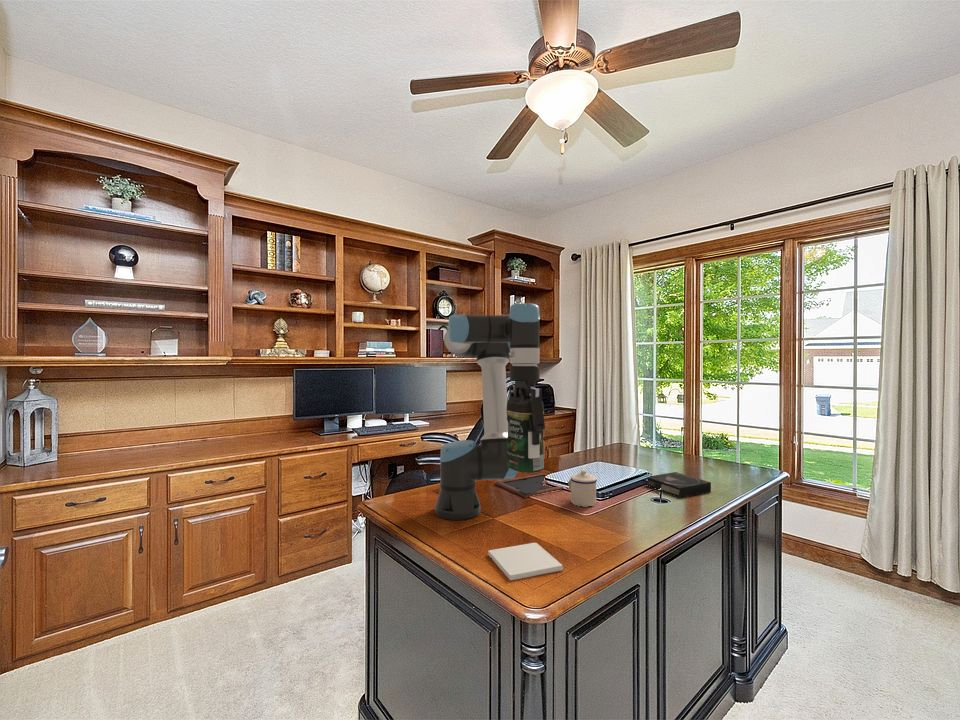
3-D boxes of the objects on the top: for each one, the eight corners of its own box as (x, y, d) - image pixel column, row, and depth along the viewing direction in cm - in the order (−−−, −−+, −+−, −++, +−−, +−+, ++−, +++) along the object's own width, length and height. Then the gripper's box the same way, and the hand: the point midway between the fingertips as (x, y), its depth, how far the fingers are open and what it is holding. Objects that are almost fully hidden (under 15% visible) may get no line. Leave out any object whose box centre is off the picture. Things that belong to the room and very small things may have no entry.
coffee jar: (501, 467, 114) (501, 395, 114) (525, 463, 119) (525, 394, 118) (524, 476, 106) (524, 398, 106) (549, 471, 110) (549, 397, 110)
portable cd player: (644, 486, 177) (644, 476, 177) (675, 481, 184) (675, 472, 184) (678, 499, 162) (678, 488, 162) (710, 492, 169) (710, 482, 169)
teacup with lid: (602, 504, 155) (602, 471, 155) (583, 509, 150) (583, 475, 150) (578, 495, 165) (578, 464, 165) (559, 499, 161) (559, 467, 161)
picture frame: (525, 499, 162) (576, 488, 175) (525, 494, 162) (576, 483, 175) (495, 485, 179) (543, 476, 192) (495, 481, 179) (543, 472, 192)
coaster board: (488, 555, 117) (488, 550, 117) (535, 546, 121) (535, 542, 121) (510, 580, 103) (510, 575, 103) (562, 570, 108) (562, 565, 108)
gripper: (494, 364, 121) (494, 446, 121) (531, 366, 100) (531, 464, 101) (519, 364, 124) (519, 444, 124) (560, 365, 103) (560, 461, 103)
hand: (524, 453), depth 112 cm, fingers closed on coffee jar, 9 cm apart
